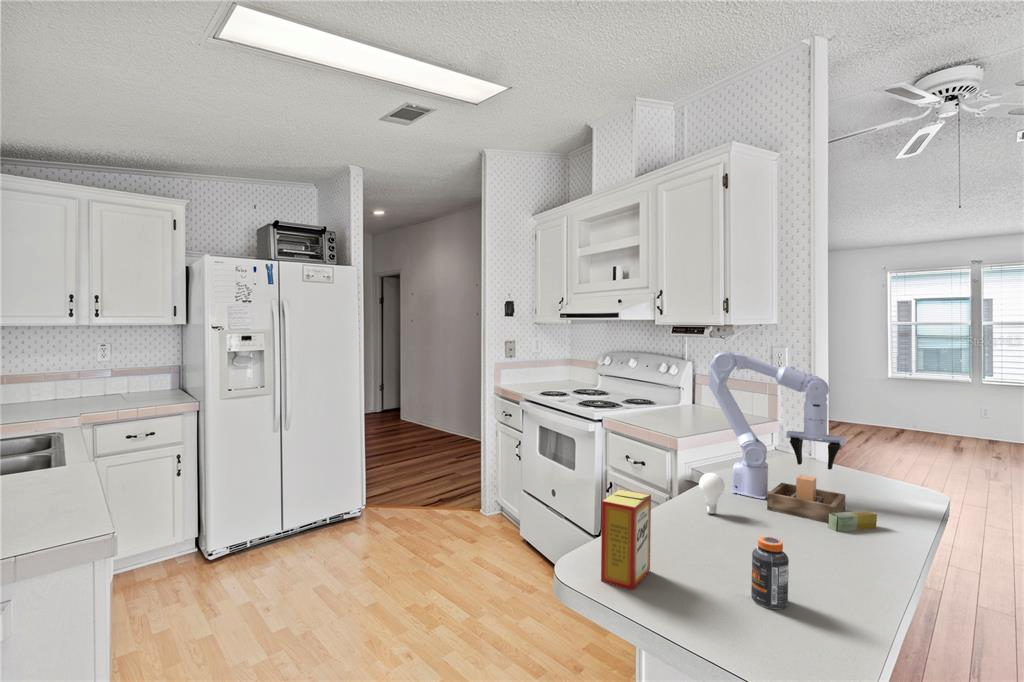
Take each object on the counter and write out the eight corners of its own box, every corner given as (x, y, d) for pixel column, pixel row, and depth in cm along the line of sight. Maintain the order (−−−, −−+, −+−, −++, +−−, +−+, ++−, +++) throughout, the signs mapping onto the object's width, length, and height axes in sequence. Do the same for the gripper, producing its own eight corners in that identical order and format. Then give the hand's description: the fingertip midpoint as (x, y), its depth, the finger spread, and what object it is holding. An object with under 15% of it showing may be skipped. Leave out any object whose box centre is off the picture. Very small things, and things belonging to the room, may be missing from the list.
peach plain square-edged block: (795, 506, 142) (796, 477, 142) (799, 503, 145) (800, 474, 145) (812, 510, 139) (813, 480, 139) (815, 506, 142) (816, 477, 142)
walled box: (767, 509, 142) (767, 493, 142) (781, 497, 153) (781, 482, 153) (834, 524, 132) (834, 507, 132) (845, 510, 142) (845, 494, 142)
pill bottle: (744, 593, 96) (745, 533, 96) (775, 592, 97) (776, 532, 97) (762, 611, 90) (764, 546, 90) (795, 609, 91) (796, 545, 91)
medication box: (836, 532, 127) (836, 516, 127) (827, 528, 130) (827, 512, 129) (877, 529, 129) (877, 513, 129) (867, 525, 132) (868, 509, 132)
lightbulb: (698, 516, 137) (698, 474, 137) (699, 508, 143) (699, 468, 143) (724, 519, 134) (724, 477, 134) (724, 511, 140) (724, 471, 140)
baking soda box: (633, 590, 97) (634, 505, 97) (601, 581, 101) (601, 499, 101) (649, 571, 105) (650, 492, 105) (619, 563, 109) (620, 487, 108)
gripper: (783, 417, 150) (783, 464, 151) (842, 424, 141) (841, 473, 141) (790, 415, 156) (789, 460, 156) (847, 420, 146) (846, 468, 146)
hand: (814, 466), depth 149 cm, fingers open, 7 cm apart
